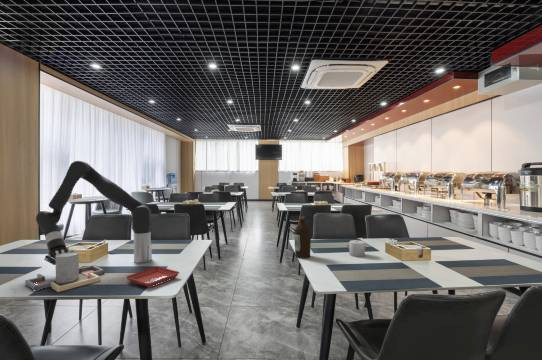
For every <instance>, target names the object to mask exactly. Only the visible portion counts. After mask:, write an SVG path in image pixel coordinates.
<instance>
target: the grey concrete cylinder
mask: <svg viewBox="0 0 542 360" xmlns="http://www.w3.org/2000/svg"><path fill="white" fill-rule="evenodd" d="M79 254H80V253H79V252H78V251H74V252H68V253H62V254H58V255H56V256H55V257H56V265H55V283H56V284H57V283H58V284H64V283H72V282H74V281H78V280H79V278H80V273H79V267H80V264H79V263H80V262H79V261H80V260H79V259H80V256H79Z"/></svg>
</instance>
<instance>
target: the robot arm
mask: <svg viewBox="0 0 542 360" xmlns="http://www.w3.org/2000/svg"><path fill="white" fill-rule="evenodd" d="M80 179H83V180H85V181H86V182H88V183H89V184H91V185H92V186H93V187H94V188H95V189H96V190H97V191H98V192H99V193H100V194H101V195H102V196H104V198H106V199H107V200H109V201H111V202H112V203H114V204H116V205H119V206H120V207H123V208H125V209H127V210H128V211H129V212H130V213H132V229H133V262H134V263H137V264H138V263H139V264H141V263H142V264H143V263H147V262H150V261H151V260H152V259H153V257H152V255H153V254H152V252H153V251H152V250H153V249H152V248H153V247H152V245H153V244H152V243H151V230H152V229H151V223H150V222H151V221H150V218H151V215H152V211H151V208H150V207H149V206H147V205H146V204H144V203H142V202H141V201H139V200H137V199H136V198H134V197H133V196H132V195H131V194H129V193H128V191H126V190H124V189H123V187H121V186H119V185H118V184H116V183H115V182H113V181H112V180H110V179H109V178H107V177H105V176H103V175H102V174H101V173H99V172H98V171H97V170H95V168H93V167H92V166H91V165H90V164H89V163H88V162H86V161H82V160H75V161H73V162H72V163H70V165H69V167H68V169H67V172H66V174H65V177H64V178H63V181H62V182H61V185H60V186H59V188H58V189H57V190H56V193H55V194H54V195H53V196H52V198H51V199H50V201H49V203H48V207H49V208H51V209H53V210H52V212H51V211H46V210H42V211H39V212H38V213H37V215H36V217H35V221H36V223H37V225H38V226H39V228H40V229H41V230H42V232H43V236H44V239H45V244H46V247H47V250H48V254H47V255H45V256H44V259H43V260H44V261H46V262H48V263H50V264H51V265H54V266H56V257H55V256H56V255H58V254H62V253H68V252H75V251H73V250H69V249H68V248H67V246H66V242H65V239H64V237H63V236H64V235H62V232H61V229H60V225H58V223H60V220H61V217H62V214H63V211H64V210H63V209H64V208H65V206H66V205H67V203H68V201H69V200H70V198H71V195H72V193H73V190H74V188H75V186H76V184H77V183H78V181H79V180H80Z"/></svg>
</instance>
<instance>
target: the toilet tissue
mask: <svg viewBox="0 0 542 360" xmlns="http://www.w3.org/2000/svg"><path fill="white" fill-rule="evenodd" d="M346 247H347V248H348V250H349V256H351V257H355V258H364V257H365V256H366V242H365V241H364V240H357V239H356V240H355V239H354V240H353V239H352V240H349V244H347V245H346Z"/></svg>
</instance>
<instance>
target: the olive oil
mask: <svg viewBox="0 0 542 360" xmlns="http://www.w3.org/2000/svg"><path fill="white" fill-rule="evenodd" d="M293 236H294V238H293V240H294V256H295V257H296V258H297V259H309V258H311V241H312V240H311V239H312V230H311V228H310V227H309V226H308V224H307V223H306V217H305V216H300V217H299V223H298V224H297V226H296V227H295V228H294V230H293Z"/></svg>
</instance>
